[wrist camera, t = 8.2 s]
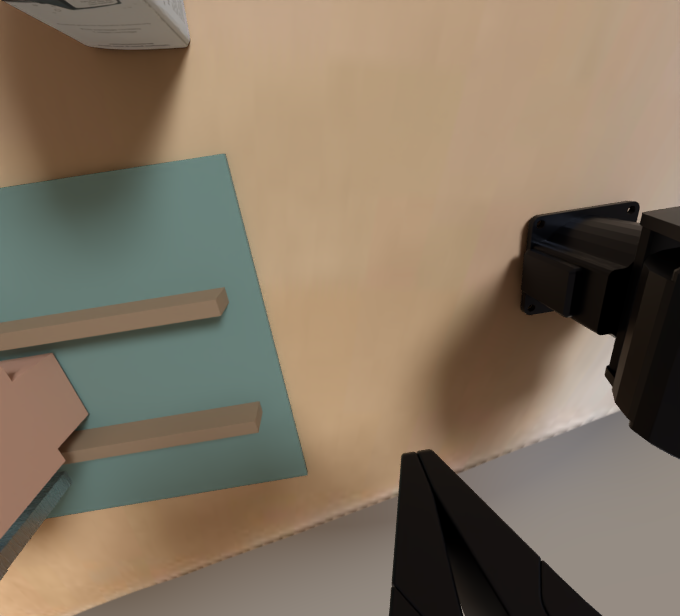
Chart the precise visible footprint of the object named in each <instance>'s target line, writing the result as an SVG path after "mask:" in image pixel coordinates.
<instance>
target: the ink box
mask: <svg viewBox="0 0 680 616" xmlns="http://www.w3.org/2000/svg"><path fill="white" fill-rule="evenodd" d="M2 1H4V2H6V3H8V4H9V5H11V6H13V7H15V8H17V9H19V10H21V11H23V12H25V13H26V14H28V15H30V16H32V17H34V18H36V19H38V20H40V21H41V22H43V23H45V24H47V25H49V26H51V27H53V28H55V29H57V30H59V31H60V32H62V33H64V34H66V35H68V36H70V37H72V38H74V39H75V40H77V41H79V42H81V43H82V44H84V45H87V46H89V47H97V48H105V49H124V50H139V49H165V48H184V47H187V46H188V44H189V42H190V35H189V30H188V24H187V19H186V13H185V8H184V3H183V0H2Z"/></svg>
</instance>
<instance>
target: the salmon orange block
mask: <svg viewBox="0 0 680 616" xmlns="http://www.w3.org/2000/svg"><path fill="white" fill-rule="evenodd" d="M87 415H88V412H87V411H86V409H85V407H84V406H83V404H82V402H81V400H80V399H79V397H78V395H77V394H76V392H75V390H74V389H73V387H72V385H71V384H70V382H69V380H68V378H67V377H66V375H65V373H64V372H63V370H62V368H61V367H60V365H59V363H58V361H57V360H56V358H55V356H54V355H53V353H47V354H41V355H35V356H29V357H22V358H16V359H10V360H4V361H0V539H1V538H2V537H3V535H4V534H5V533H6V532H7V531H8V529H9V528H10V527H11V526H12V524H13V523H14V522H15V521H16V520H17V518H18V517H19V516H20V515H21V514H22V512H23V511H24V510H25V509H26V508H27V506H28V505H29V504H30V503H31V502H32V500H33V499H34V498H35V497H36V496H37V494H38V493H39V492H40V491H41V490H42V488H43V487H44V486H45V485H46V484H47V482H48V481H49V480H50V479H51V478H52V476H53V475H54V474H55V473H56V472H57V470H58V469H59V468H60V467H61V466H62V464H63V463H64V462H65V461H66V460H65V459H64V457H63V456H62V455H61V453H60V452H59V450H58V448H59V447H60V446H61V444H62V443H63V442H64V441H65V440H66V439H67V438H68V437H69V436H70V434H71V433H72V432H73V431H74V430H75V429H76V428H77V427H78V425H79V424H80V423H81V422H82V421H83V420H84V419H85V418H86V416H87Z"/></svg>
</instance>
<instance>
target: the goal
mask: <svg viewBox="0 0 680 616" xmlns="http://www.w3.org/2000/svg"><path fill="white" fill-rule="evenodd" d="M72 483H73V481H72V480H71V478H70V477H69V476H68V474H67V473H66V471H63V472H57V473H55V474H54V475H53V476H52V478H51V479H50V480H49V481H48V482H47V484H46V485H45V486H44V487H43V488H42V490H41V491H40V492H39V493H38V494H37V496H36V497H35V498H34V499H33V500H32V502H31V503H30V504H29V505H28V506H27V508H26V509H25V510H24V511H23V512H22V514H21V515H20V516H19V517H18V518H17V520H16V521H15V522H14V523H13V524H12V526H11V527H10V528H9V529H8V531H7V532H6V533H5V534H4V535H3V537H2V538H1V539H0V580H1V579H2V578H3V576H4V575H5V574H6V572H7V571H8V570H7V569H8V568H9V567H10V565H11V564H12V563H13V561H14V560H15V559H16V557H17V556H18V555H19V553H20V552H21V551H22V549H23V548H24V547H25V545H26V544H27V543H28V541H29V540H30V539H31V537H32V536H33V535H34V533H35V532H36V531H37V529H38V528H39V527H40V525H41V524H42V523H43V521H44V520H45V519H46V517H47V516H48V515H49V513H50V512H51V511H52V509H53V508H54V507H55V505H56V504H57V503H58V501H59V500H60V499H61V497H62V496H63V495H64V493H65V492H66V491H67V489H68V488H69V487H70V485H71V484H72Z"/></svg>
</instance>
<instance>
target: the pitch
mask: <svg viewBox="0 0 680 616" xmlns="http://www.w3.org/2000/svg"><path fill="white" fill-rule="evenodd" d="M47 353H53V355H54V356H55V358H56V360H57V361H58V363H59V365H60V367H61V368H62V370H63V372H64V373H65V375H66V377H67V378H68V380H69V382H70V384H71V385H72V387H73V389H74V390H75V392H76V394H77V395H78V397H79V399H80V400H81V402H82V404H83V406H84V407H85V409H86V411H87V412H88V415H87V416H86V418H85V419H84V420H83V421H82V422H81V423H80V424H79V425H78V427H77V428H76V429H75V430H74V431H73V432H72V433H71V434H70V436H69V437H68V438H67V439H66V440H65V441H64V442H63V443H62V444H61V446H60V447H59V448H58V450H59V452H60V453H61V455H62V456H63V457H64V459H65V460H66V461H65V462H64V463H63V464H62V466H61V467H60V468H59V469H58V470H57V472H63V471H66V473H67V474H68V476H69V477H70V478H71V480H72V481H73V483H72V484H71V485H70V487H69V488H68V489H67V491H66V492H65V493H64V495H63V496H62V497H61V499H60V500H59V501H58V503H57V504H56V505H55V507H54V508H53V509H52V511H51V512H50V513H49V515H48V516H47V517H46V518H52V517H58V516H64V515H70V514H76V513H82V512H88V511H94V510H100V509H106V508H112V507H118V506H124V505H130V504H136V503H142V502H148V501H154V500H160V499H166V498H172V497H178V496H184V495H190V494H196V493H202V492H209V491H215V490H221V489H227V488H233V487H239V486H245V485H251V484H257V483H263V482H269V481H275V480H281V479H287V478H293V477H299V476H305V475H307V468H306V464H305V460H304V456H303V452H302V449H301V445H300V441H299V437H298V433H297V429H296V425H295V421H294V418H293V414H292V410H291V406H290V402H289V398H288V394H287V390H286V387H285V383H284V379H283V375H282V371H281V367H280V363H279V359H278V356H277V352H276V348H275V344H274V340H273V336H272V332H271V328H270V325H269V321H268V317H267V313H266V309H265V305H264V301H263V297H262V294H261V290H260V286H259V282H258V278H257V274H256V270H255V266H254V263H253V259H252V255H251V251H250V247H249V243H248V239H247V235H246V231H245V228H244V224H243V220H242V216H241V212H240V208H239V204H238V200H237V197H236V193H235V189H234V185H233V181H232V177H231V173H230V169H229V166H228V162H227V158H226V154H219V155H212V156H206V157H199V158H193V159H186V160H180V161H173V162H167V163H160V164H154V165H147V166H141V167H134V168H128V169H121V170H115V171H108V172H101V173H95V174H88V175H82V176H75V177H69V178H62V179H56V180H49V181H43V182H36V183H30V184H23V185H17V186H10V187H4V188H0V361H4V360H10V359H16V358H22V357H29V356H35V355H41V354H47ZM57 472H56V473H57Z"/></svg>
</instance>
